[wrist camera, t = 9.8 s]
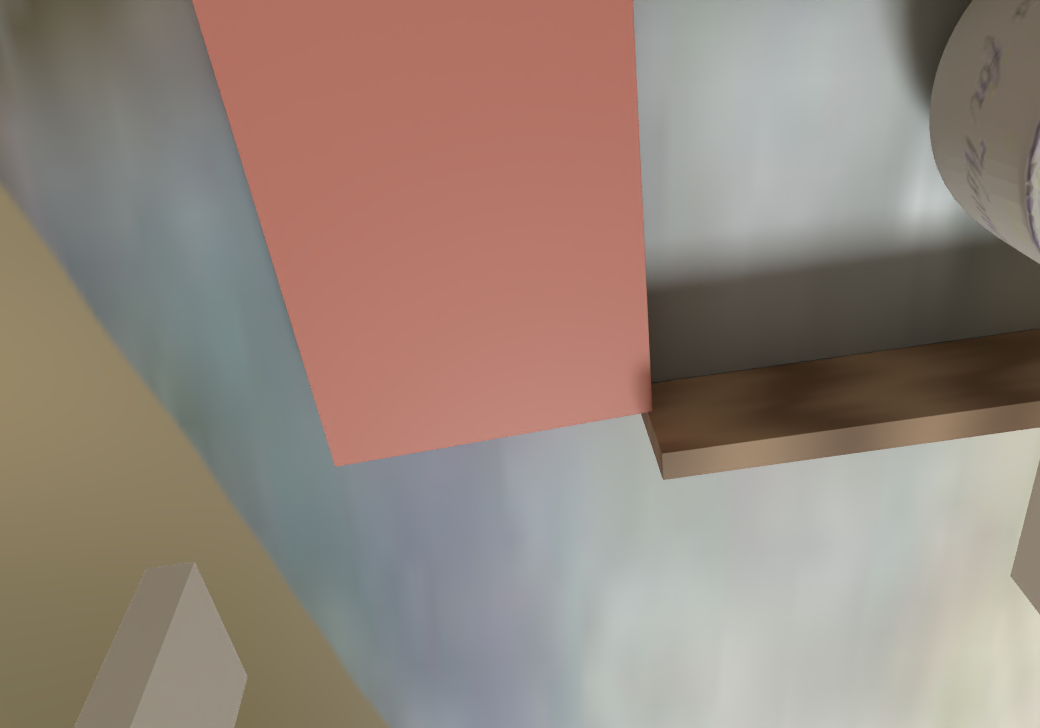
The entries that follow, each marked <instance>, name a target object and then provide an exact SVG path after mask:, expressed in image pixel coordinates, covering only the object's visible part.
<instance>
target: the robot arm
mask: <svg viewBox="0 0 1040 728" xmlns="http://www.w3.org/2000/svg"><path fill="white" fill-rule="evenodd" d="M1011 577H1012V578H1013V580H1014V581H1015V582H1016V584H1017V585H1018V586H1019V588H1020V589H1021V590H1022V592H1023V593H1024V594H1025V596H1026V597H1027V598H1028V600H1029V601H1030V602H1031V603H1032V605H1033V606H1034V607H1035V609H1036V610H1037V611H1038V613H1039V614H1040V461H1039V465H1038V469H1037V473H1036V477H1035V481H1034V485H1033V489H1032V493H1031V497H1030V501H1029V505H1028V509H1027V513H1026V517H1025V521H1024V525H1023V529H1022V533H1021V537H1020V540H1019V544H1018V548H1017V552H1016V556H1015V560H1014V564H1013V568H1012V572H1011ZM246 681H247V675H246V673H245V671H244V668H243V666H242V664H241V662H240V660H239V657H238V656H237V653H236V651H235V649H234V647H233V645H232V642H231V640H230V638H229V636H228V634H227V631H226V629H225V627H224V625H223V623H222V621H221V618H220V616H219V614H218V612H217V610H216V608H215V606H214V603H213V601H212V599H211V597H210V595H209V592H208V590H207V588H206V586H205V584H204V581H203V579H202V577H201V575H200V573H199V571H198V568H197V566H196V564H195V562H189V563H182V564H175V565H168V566H160V567H153V568H146V569H145V572H144V574H143V576H142V578H141V581H140V583H139V585H138V587H137V590H136V592H135V594H134V596H133V598H132V601H131V603H130V605H129V607H128V609H127V611H126V614H125V616H124V618H123V620H122V623H121V625H120V627H119V629H118V632H117V634H116V636H115V638H114V640H113V642H112V644H111V647H110V649H109V651H108V653H107V656H106V658H105V660H104V662H103V664H102V667H101V669H100V671H99V673H98V675H97V678H96V680H95V682H94V684H93V687H92V689H91V691H90V693H89V695H88V698H87V700H86V702H85V704H84V706H83V709H82V711H81V713H80V715H79V717H78V720H77V722H76V724H75V726H74V728H234V726H235V722H236V718H237V715H238V711H239V707H240V703H241V700H242V696H243V692H244V688H245V684H246Z"/></svg>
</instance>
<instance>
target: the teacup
mask: <svg viewBox="0 0 1040 728" xmlns="http://www.w3.org/2000/svg"><path fill="white" fill-rule="evenodd" d="M930 138H931V146H932V151H933V155H934V159H935V162H936V165H937V168H938V170H939V173H940V175H941V177H942V179H943V181H944V183H945V185H946V187H947V188H948V190H949V191H950V193H951V194H952V196H953V197H954V199H955V200H956V201H957V202H958V203H959V204H960V206H961V207H962V208H963V209H964V210H965V211H966V212H967V213H968V214H969V215H970V216H971V217H972V218H973V219H975V220H976V221H977V222H978V223H979V224H980V225H982V226H983V227H984V228H986V229H987V230H988V231H990V232H991V233H993V234H994V235H995V236H997V237H998V238H999V239H1001V240H1003V241H1004V242H1006V243H1007V244H1009V245H1010V246H1012V247H1014V248H1015V249H1017V250H1018V251H1020V252H1021V253H1023V254H1025V255H1026V256H1028V257H1029V258H1031V259H1032V260H1034V261H1036V262H1037V263H1039V264H1040V0H972V1H971V3H970V4H969V6H968V7H967V8H966V10H965V11H964V13H963V15H962V16H961V18H960V20H959V21H958V23H957V25H956V27H955V29H954V31H953V32H952V34H951V36H950V38H949V41H948V43H947V45H946V47H945V50H944V52H943V54H942V57H941V60H940V63H939V66H938V69H937V73H936V77H935V81H934V85H933V90H932V94H931V104H930Z"/></svg>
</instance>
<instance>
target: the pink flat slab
mask: <svg viewBox="0 0 1040 728" xmlns="http://www.w3.org/2000/svg"><path fill="white" fill-rule="evenodd" d="M192 2H193V5H194V8H195V12H196V15H197V18H198V21H199V25H200V28H201V31H202V34H203V38H204V41H205V44H206V47H207V51H208V54H209V57H210V60H211V64H212V67H213V70H214V74H215V77H216V80H217V83H218V87H219V90H220V93H221V96H222V100H223V103H224V106H225V109H226V113H227V116H228V119H229V122H230V126H231V129H232V132H233V135H234V139H235V142H236V145H237V148H238V152H239V155H240V158H241V161H242V165H243V168H244V171H245V175H246V178H247V181H248V184H249V188H250V191H251V194H252V197H253V201H254V204H255V207H256V210H257V214H258V217H259V220H260V223H261V227H262V230H263V233H264V236H265V240H266V243H267V246H268V249H269V253H270V256H271V259H272V262H273V266H274V269H275V272H276V276H277V279H278V282H279V285H280V289H281V292H282V295H283V298H284V302H285V305H286V308H287V311H288V315H289V318H290V321H291V324H292V328H293V331H294V334H295V337H296V341H297V344H298V347H299V350H300V354H301V357H302V360H303V363H304V367H305V370H306V373H307V377H308V380H309V383H310V386H311V390H312V393H313V396H314V399H315V403H316V406H317V409H318V412H319V416H320V419H321V422H322V425H323V429H324V432H325V435H326V438H327V442H328V445H329V448H330V451H331V455H332V458H333V461H334V464H335V467H336V466H342V465H347V464H353V463H359V462H365V461H370V460H376V459H382V458H388V457H393V456H399V455H405V454H410V453H416V452H422V451H428V450H433V449H439V448H445V447H451V446H456V445H462V444H468V443H473V442H479V441H485V440H491V439H496V438H502V437H508V436H514V435H519V434H525V433H531V432H536V431H542V430H548V429H554V428H559V427H565V426H571V425H577V424H582V423H588V422H594V421H599V420H605V419H611V418H617V417H622V416H628V415H634V414H640V413H645V412H651V411H652V392H651V371H650V350H649V330H648V309H647V288H646V267H645V246H644V225H643V205H642V184H641V163H640V142H639V121H638V100H637V80H636V59H635V38H634V17H633V0H192Z"/></svg>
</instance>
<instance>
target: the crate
mask: <svg viewBox="0 0 1040 728" xmlns="http://www.w3.org/2000/svg"><path fill="white" fill-rule="evenodd" d="M651 392H652V411H651V412H645V413H641V415H642V418H643V421H644V424H645V427H646V430H647V433H648V436H649V439H650V442H651V445H652V448H653V451H654V454H655V457H656V460H657V463H658V466H659V469H660V472H661V475H662V478H663V480H665V479H672V478H680V477H687V476H694V475H701V474H708V473H715V472H723V471H730V470H737V469H744V468H751V467H758V466H766V465H773V464H780V463H787V462H794V461H801V460H809V459H816V458H823V457H830V456H837V455H844V454H852V453H859V452H866V451H873V450H880V449H887V448H895V447H902V446H909V445H916V444H923V443H930V442H938V441H945V440H952V439H959V438H966V437H973V436H981V435H988V434H995V433H1002V432H1009V431H1016V430H1024V429H1031V428H1038V427H1040V329H1036V330H1028V331H1021V332H1014V333H1007V334H1000V335H993V336H986V337H979V338H971V339H964V340H957V341H950V342H943V343H936V344H929V345H922V346H914V347H907V348H900V349H893V350H886V351H879V352H872V353H865V354H857V355H850V356H843V357H836V358H829V359H822V360H815V361H808V362H801V363H793V364H786V365H779V366H772V367H765V368H758V369H751V370H744V371H736V372H729V373H722V374H715V375H708V376H701V377H694V378H687V379H679V380H672V381H665V382H658V383H651Z"/></svg>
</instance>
